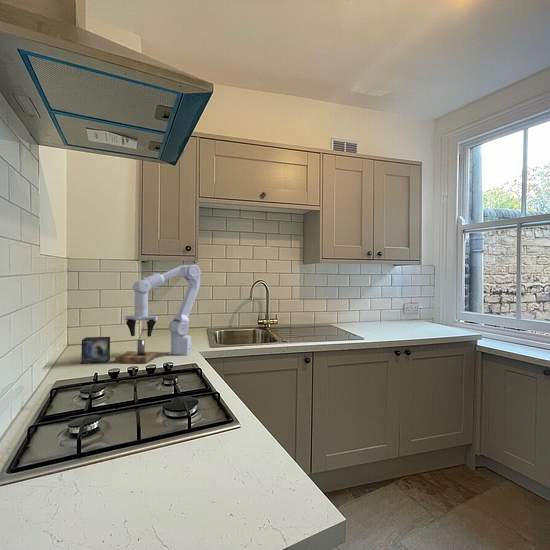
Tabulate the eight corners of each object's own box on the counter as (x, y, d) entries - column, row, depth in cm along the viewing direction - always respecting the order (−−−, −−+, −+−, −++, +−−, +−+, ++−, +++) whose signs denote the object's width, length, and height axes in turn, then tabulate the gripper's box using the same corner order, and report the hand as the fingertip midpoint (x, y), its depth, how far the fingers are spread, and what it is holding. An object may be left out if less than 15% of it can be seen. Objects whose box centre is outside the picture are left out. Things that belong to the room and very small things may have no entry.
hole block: (156, 357, 162) (156, 352, 162) (146, 363, 151) (146, 357, 151) (127, 356, 163) (127, 351, 163) (115, 362, 152) (115, 356, 152)
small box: (80, 364, 148) (80, 340, 148) (84, 360, 155) (84, 337, 154) (107, 363, 151) (107, 339, 151) (110, 359, 157) (110, 336, 157)
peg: (145, 359, 158) (145, 339, 158) (143, 360, 155) (143, 340, 155) (138, 359, 158) (138, 339, 158) (136, 360, 155) (136, 340, 155)
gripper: (121, 307, 155) (121, 337, 155) (153, 307, 154) (153, 338, 154) (128, 305, 162) (128, 334, 162) (159, 306, 161) (159, 335, 161)
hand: (141, 336), depth 159 cm, fingers open, 7 cm apart
